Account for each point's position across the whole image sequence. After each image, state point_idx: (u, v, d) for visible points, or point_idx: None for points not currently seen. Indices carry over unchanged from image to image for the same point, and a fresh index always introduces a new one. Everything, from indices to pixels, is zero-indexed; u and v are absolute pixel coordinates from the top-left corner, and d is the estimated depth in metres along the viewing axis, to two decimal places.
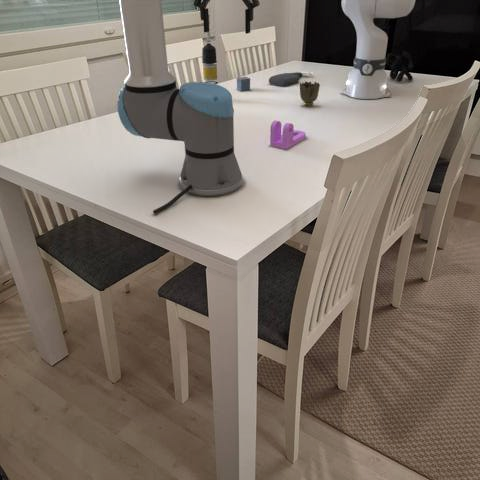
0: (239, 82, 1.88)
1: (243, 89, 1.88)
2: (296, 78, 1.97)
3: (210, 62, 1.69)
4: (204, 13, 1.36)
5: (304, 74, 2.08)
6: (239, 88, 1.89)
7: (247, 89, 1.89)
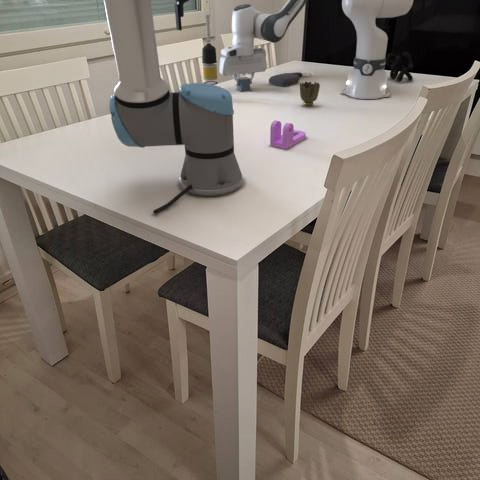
0: None
1: (243, 89, 1.88)
2: (296, 78, 1.97)
3: (210, 62, 1.69)
4: None
5: (304, 74, 2.08)
6: (239, 88, 1.89)
7: (247, 89, 1.89)
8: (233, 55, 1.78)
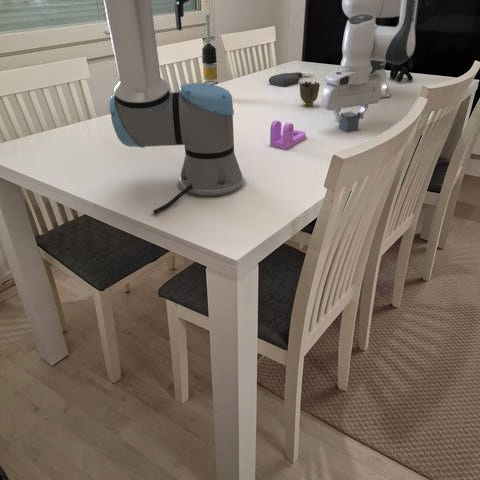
0: (344, 120, 1.41)
1: (349, 129, 1.42)
2: (296, 78, 1.97)
3: (210, 62, 1.69)
4: None
5: (304, 74, 2.08)
6: (344, 127, 1.43)
7: (354, 129, 1.42)
8: (344, 83, 1.31)
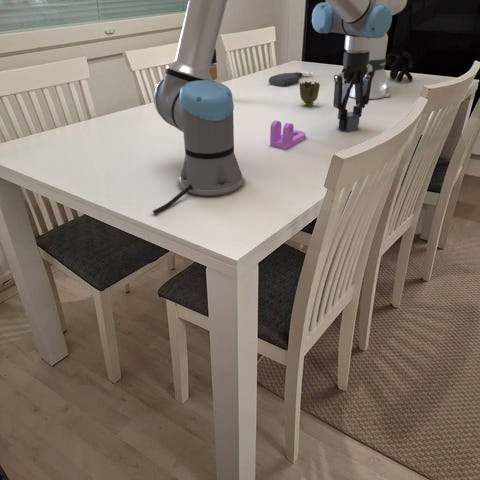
0: None
1: (349, 129, 1.42)
2: (296, 78, 1.97)
3: None
4: (346, 114, 1.39)
5: (304, 74, 2.08)
6: None
7: (354, 129, 1.42)
8: None
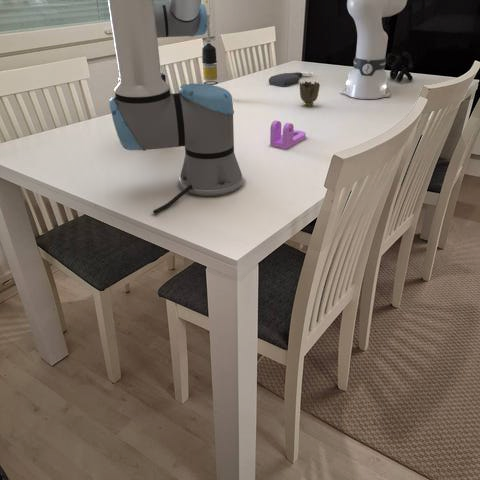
0: None
1: None
2: (296, 78, 1.97)
3: (210, 62, 1.69)
4: None
5: (304, 74, 2.08)
6: None
7: None
8: None
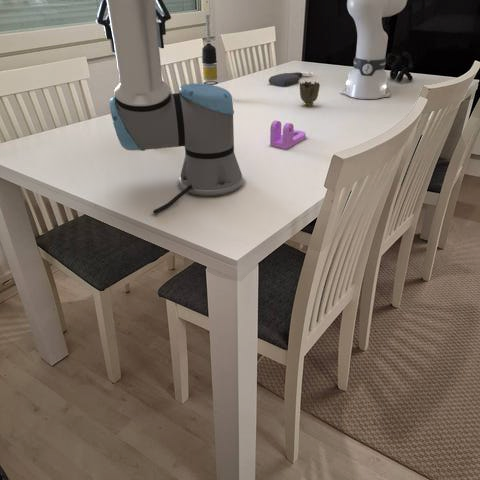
0: None
1: None
2: (296, 78, 1.97)
3: (210, 62, 1.69)
4: (112, 31, 1.20)
5: (304, 74, 2.08)
6: None
7: None
8: None
